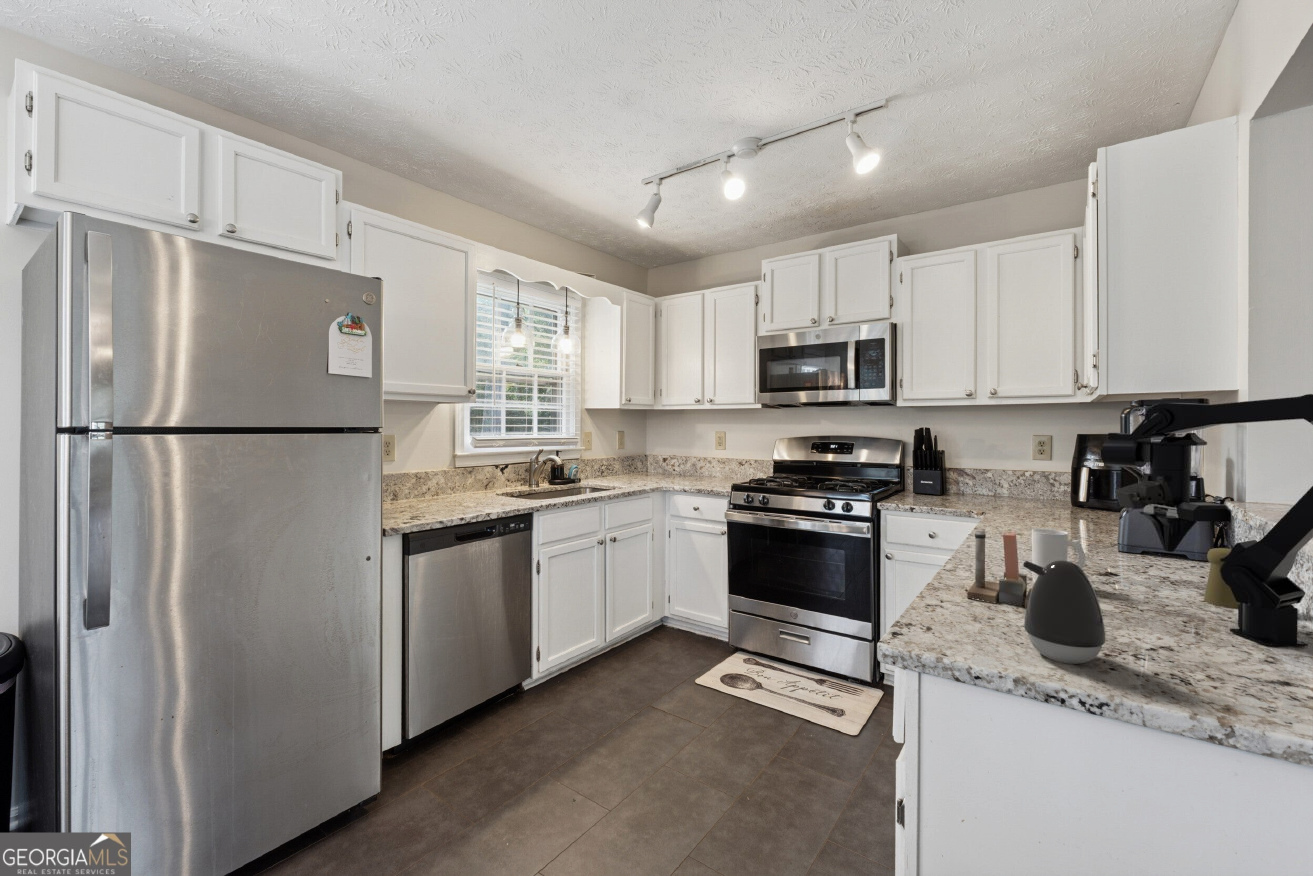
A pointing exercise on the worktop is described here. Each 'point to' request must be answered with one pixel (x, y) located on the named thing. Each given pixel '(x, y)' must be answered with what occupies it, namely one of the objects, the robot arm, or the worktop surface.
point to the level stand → (991, 590)
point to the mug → (1052, 548)
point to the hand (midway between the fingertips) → (1169, 551)
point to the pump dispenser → (1064, 613)
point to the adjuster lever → (1011, 558)
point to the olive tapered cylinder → (1218, 581)
